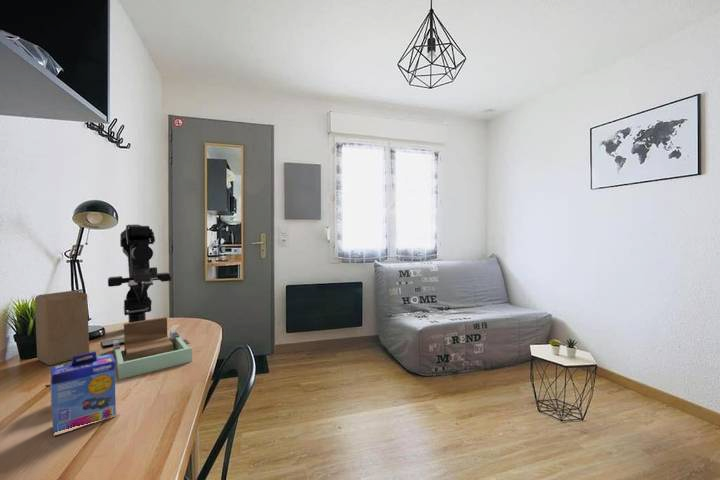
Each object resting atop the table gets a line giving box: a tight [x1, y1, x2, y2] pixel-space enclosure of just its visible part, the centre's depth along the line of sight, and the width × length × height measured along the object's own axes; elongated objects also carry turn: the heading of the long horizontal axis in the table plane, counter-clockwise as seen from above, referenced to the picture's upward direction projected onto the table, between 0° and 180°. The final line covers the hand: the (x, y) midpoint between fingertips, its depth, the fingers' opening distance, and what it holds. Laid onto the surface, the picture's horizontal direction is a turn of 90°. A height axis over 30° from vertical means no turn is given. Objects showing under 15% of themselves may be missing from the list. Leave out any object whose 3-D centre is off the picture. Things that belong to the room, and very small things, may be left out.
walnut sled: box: [123, 316, 174, 361], centre depth 104 cm, size 12×12×9 cm
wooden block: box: [34, 290, 90, 366], centre depth 99 cm, size 10×10×20 cm
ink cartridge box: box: [50, 351, 117, 434], centre depth 65 cm, size 10×6×14 cm, turn 135°
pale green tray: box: [111, 329, 193, 380], centre depth 100 cm, size 28×23×4 cm
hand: (141, 302), depth 117 cm, fingers closed
